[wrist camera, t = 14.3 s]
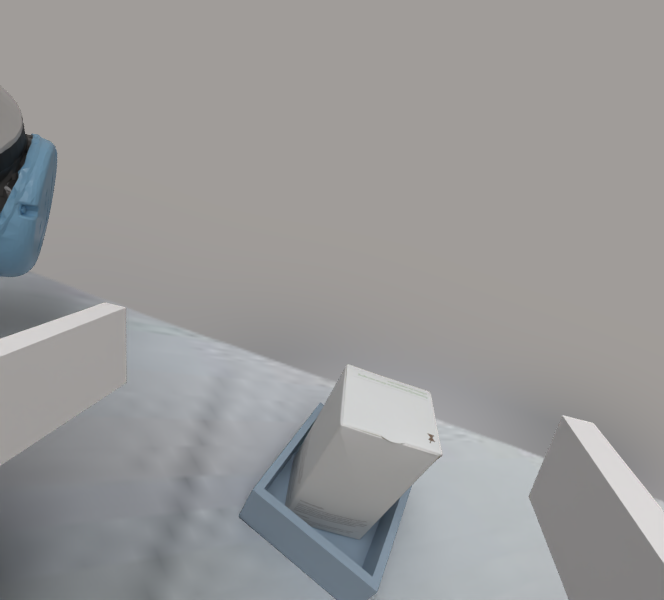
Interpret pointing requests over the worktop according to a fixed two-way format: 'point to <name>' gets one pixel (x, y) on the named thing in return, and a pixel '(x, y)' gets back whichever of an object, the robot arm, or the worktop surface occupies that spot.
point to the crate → (320, 532)
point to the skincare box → (362, 453)
